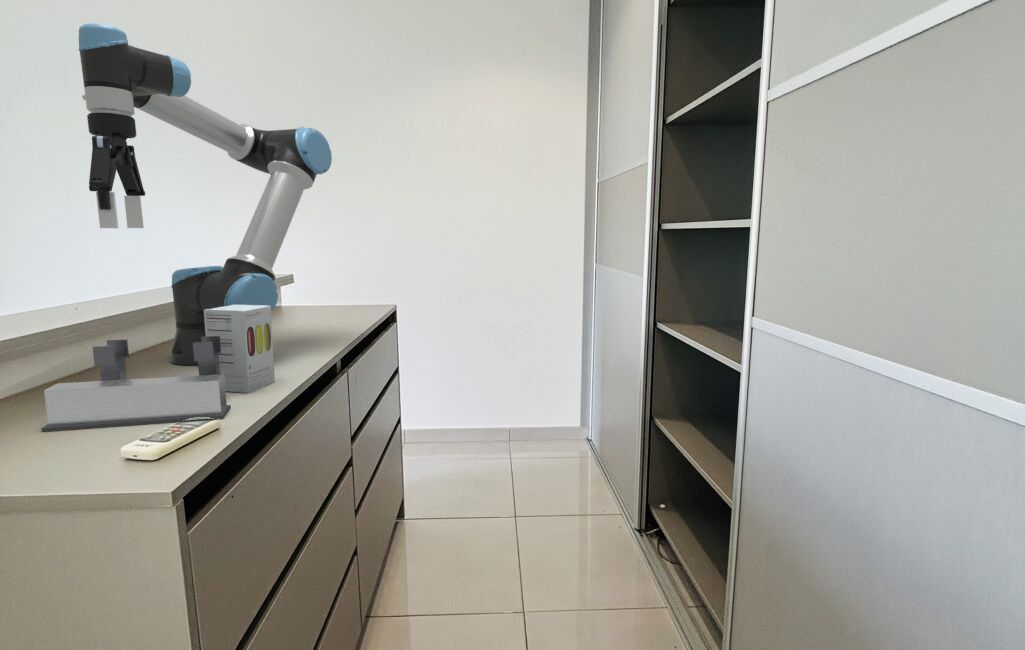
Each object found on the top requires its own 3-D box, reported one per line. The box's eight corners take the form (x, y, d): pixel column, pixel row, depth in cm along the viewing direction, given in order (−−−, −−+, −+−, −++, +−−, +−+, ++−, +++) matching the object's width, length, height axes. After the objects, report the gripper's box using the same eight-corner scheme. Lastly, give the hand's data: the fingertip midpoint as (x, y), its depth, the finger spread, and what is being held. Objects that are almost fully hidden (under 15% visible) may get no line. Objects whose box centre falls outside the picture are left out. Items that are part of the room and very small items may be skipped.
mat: (60, 419, 100) (60, 416, 100) (230, 407, 107) (230, 404, 107) (41, 431, 94) (41, 428, 94) (223, 418, 101) (222, 415, 101)
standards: (112, 401, 111) (105, 340, 109) (226, 394, 116) (222, 335, 114) (97, 412, 104) (89, 347, 102) (219, 404, 109) (214, 342, 107)
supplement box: (248, 393, 117) (242, 310, 114) (208, 391, 118) (201, 309, 116) (276, 381, 126) (271, 304, 123) (238, 379, 128) (233, 303, 125)
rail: (61, 417, 100) (57, 383, 99) (226, 406, 106) (224, 374, 105) (48, 425, 96) (43, 390, 95) (221, 413, 102) (218, 380, 101)
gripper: (114, 124, 121) (125, 227, 124) (56, 99, 97) (71, 228, 101) (154, 126, 123) (164, 228, 126) (107, 102, 99) (120, 228, 103)
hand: (123, 228), depth 113 cm, fingers open, 13 cm apart
